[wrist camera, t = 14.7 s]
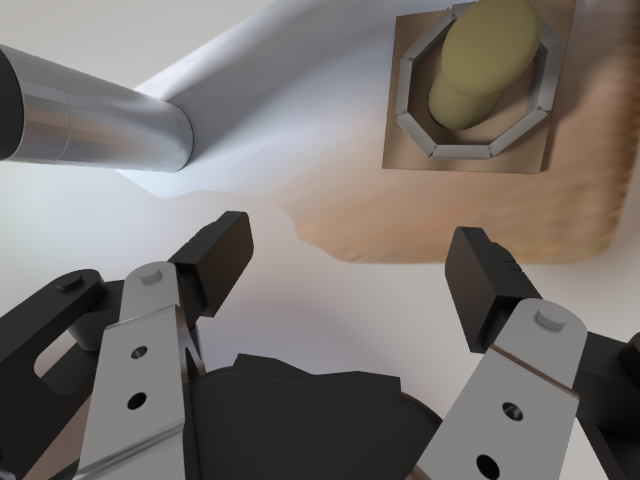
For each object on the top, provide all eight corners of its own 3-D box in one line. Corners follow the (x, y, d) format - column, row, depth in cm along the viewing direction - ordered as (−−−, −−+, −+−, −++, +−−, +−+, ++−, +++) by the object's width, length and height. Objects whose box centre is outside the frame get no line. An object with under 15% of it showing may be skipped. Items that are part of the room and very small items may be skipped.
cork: (465, 45, 25) (503, -57, 14) (515, 90, 24) (592, 16, 14) (413, 102, 27) (414, 47, 16) (458, 144, 26) (488, 115, 16)
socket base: (382, 168, 30) (379, 165, 26) (397, 22, 27) (395, -1, 24) (534, 173, 25) (552, 171, 22) (570, 1, 23) (597, -31, 19)
